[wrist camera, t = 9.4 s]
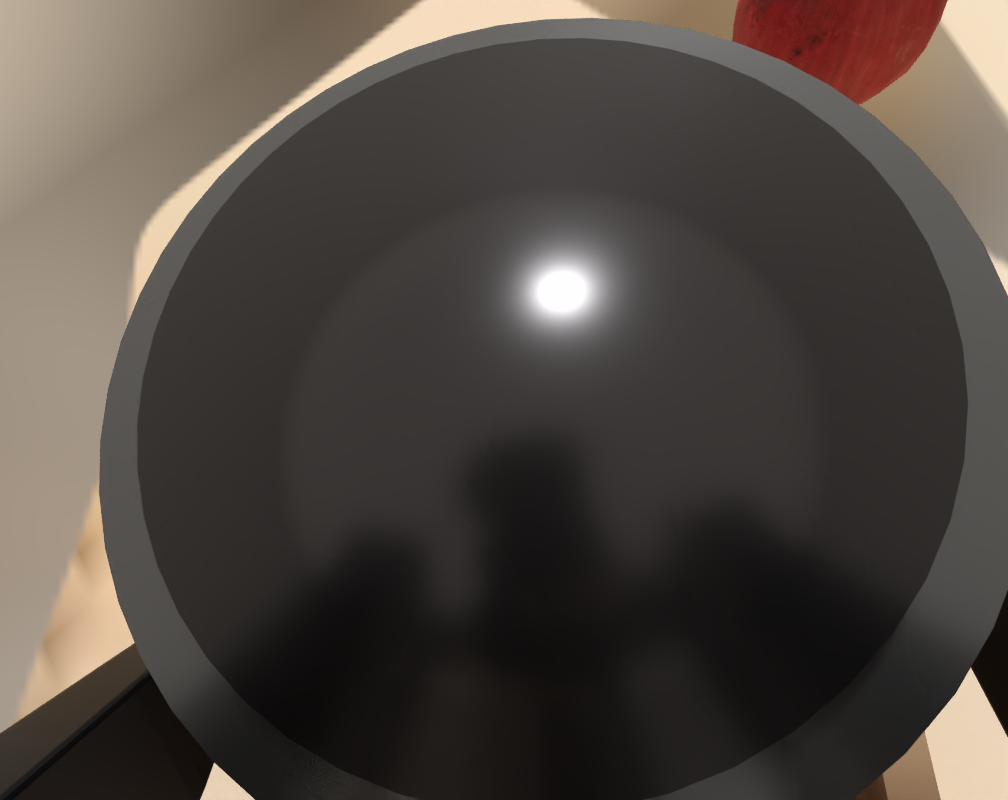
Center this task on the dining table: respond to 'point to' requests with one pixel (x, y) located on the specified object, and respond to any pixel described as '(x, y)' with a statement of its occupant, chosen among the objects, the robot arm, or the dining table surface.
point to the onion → (841, 38)
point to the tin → (564, 433)
